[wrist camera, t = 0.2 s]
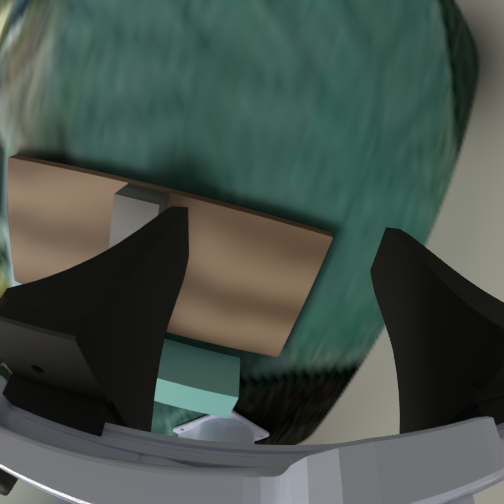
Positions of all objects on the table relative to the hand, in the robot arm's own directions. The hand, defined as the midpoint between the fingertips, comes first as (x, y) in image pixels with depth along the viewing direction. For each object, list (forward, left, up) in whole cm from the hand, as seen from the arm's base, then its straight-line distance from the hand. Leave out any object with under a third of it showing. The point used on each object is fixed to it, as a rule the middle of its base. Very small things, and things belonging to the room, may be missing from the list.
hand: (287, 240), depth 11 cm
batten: (-19, -4, -11) cm, 23 cm away
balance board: (-12, +1, -11) cm, 16 cm away
